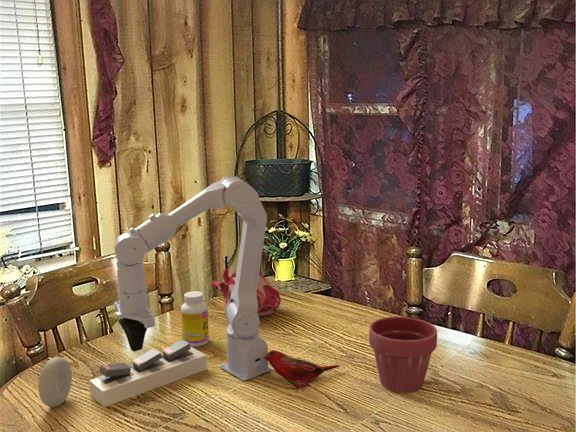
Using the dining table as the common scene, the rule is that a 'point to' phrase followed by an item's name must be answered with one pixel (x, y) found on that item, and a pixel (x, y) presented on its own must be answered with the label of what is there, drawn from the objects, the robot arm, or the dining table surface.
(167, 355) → the block
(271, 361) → the decorative bird figurine
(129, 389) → the rocker switch panel
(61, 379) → the grey round disc
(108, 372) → the rocker
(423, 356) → the plant pot
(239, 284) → the robot arm
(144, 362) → the rocker
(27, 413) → the dining table surface
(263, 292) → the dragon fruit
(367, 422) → the dining table surface
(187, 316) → the supplement bottle
